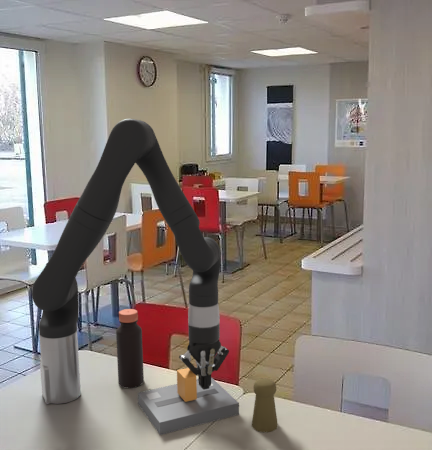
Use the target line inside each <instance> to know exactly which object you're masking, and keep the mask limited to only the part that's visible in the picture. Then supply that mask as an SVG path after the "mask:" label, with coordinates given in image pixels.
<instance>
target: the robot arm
mask: <svg viewBox="0 0 432 450" xmlns="http://www.w3.org/2000/svg"><path fill="white" fill-rule="evenodd" d="M135 164H136V165H137V167H138V168H139V169H140V170H141V172H142V174H143V175H144V177H145V179H146V181H147V183H148V184H149V188H150V190H151V192H152V195H153V198H154V200H155V203H156V205H157V208H158V210H159V212H160V214H161V216H162V217H163V219H164V221H165V222H166V224H167V226H168V227H169V229H170V231H171V232H172V234H173V236H174V238H175V242H176V244H177V247H178V250H179V253H180V255H181V257H182V259H183V261H184V263H185V264H186V265H187V267H189V268H190V269H191V270H192V277H191V279H190V282H189V285H188V310H187V316H188V318H187V321H188V323H187V324H188V325H187V326H188V346H187V347H186V348H187V350H186V352H185V353H183V354H180V355H179V357H178V358H179V360H180V361H181V362H182V363H183V364H184V365H185V366H186V368H189V369H190V370H191V371H192V372H193V373H194V374H195V375H196V376H197V378H198V381H199V382H198V383H199V386H200V387H201V388H202V389H203V390H205V389H209V386H211V377H212V373H214V372H216V371H218V370H219V369H220V368H221V366H222V364H223V363H224V361H225V360H226V358H227V356H228V355H229V353H230V350H229V349H228V348H226V346H224V345H223V346H222V343H221V341H220V336H221V333H220V331H221V330H220V329H221V328H220V325H221V324H220V319H221V315H220V307H219V286H218V284H219V278H220V270H221V258H222V257H221V256H222V255H221V254H222V253H221V249H220V246H219V244H218V242H217V241H216V240H215V239H214V238H212V237H210V236H207V237H205V236H204V235H203V233H202V232H201V229H200V224H201V222H200V219H199V217H198V215H197V213H196V212H195V210H194V208H193V206H192V205H191V203H190V201H189V200H188V198H187V196H186V195H185V193H184V191H183V190H182V188H181V187H180V185H179V183H178V182H177V180H176V177H175V176H174V174H173V171H171V169H170V167H169V165H168V163H167V159H166V158H165V156H164V154H163V151H162V148H161V146H160V144H159V141H158V138H157V135H156V133H155V130H154V129H153V127H152V126H151V125H149V123H148V122H146V121H143V120H141V119H135V118H125V119H122V120H120V121H118V122H117V123H115V124H114V126H113V127H112V130H111V131H110V132H109V135H108V138H107V140H106V143H105V145H104V149H103V152H102V153H101V156H100V159H99V162H98V163H97V166H96V168H95V170H94V172H93V174H92V175H91V177H90V179H89V180H88V182H87V183H86V185H85V188H84V190H83V192H82V193H81V195H80V196H79V199H78V200H77V202H76V204H75V206H74V208H73V210H72V212H71V214H70V216H69V217H68V220H67V222H66V224H65V226H64V228H63V231H62V233H61V235H60V237H59V239H58V242H57V245H56V247H55V249H54V251H53V253H52V255H51V257H50V258H49V260H48V261H47V263H46V265H45V266H44V267H43V269H42V271H41V272H40V273H39V275H38V276H37V278H36V279H35V280H34V283H33V284H32V288H31V298H32V301H33V303H34V305H35V306H36V307H37V308H38V309H39V310H41V311H42V313H41V314H42V315H41V317H40V320H39V323H38V334H39V345H40V346H39V347H40V348H39V349H40V360H39V365H40V366H39V369H40V381H41V393H42V398H43V400H44V402H45V404H46V405H49V404H56V405H58V404H65V403H70V402H73V401H75V400H76V399H78V398H79V397H80V396H81V394H82V392H81V373H80V358H79V356H80V355H79V342H78V341H79V340H78V322H79V321H78V320H79V314H80V313H79V312H80V311H79V310H80V309H79V307H80V306H79V288H78V287H79V285H78V281H77V275H78V273H79V271H80V269H81V268H82V266H83V264H85V262H86V260H87V259H88V258H89V257H90V255H91V254H92V253H93V252H94V250H95V249H96V248H97V246H98V245H99V243H100V242H101V240H102V239H103V238H104V236H105V234H106V233H107V231H108V229H109V226H110V225H111V223H112V221H113V220H114V217H115V216H116V213H117V210H118V207H119V202H120V199H121V193H122V190H123V186H124V184H125V181H126V179H127V177H128V175H129V174H130V172H131V170H132V169H133V167H134V166H135ZM192 358H193V359H194V360H195V364H196V367H195V365H194V364H193V363H192V362H191V361H192Z"/></svg>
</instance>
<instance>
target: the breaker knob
mask: <svg viewBox="0 0 432 450" xmlns="http://www.w3.org/2000/svg"><path fill="white" fill-rule="evenodd" d="M196 380H197V375H195V374H194V373H193V372H192V371H191V370H190V369H189V368H188V367H186V368H182V369H181V368H180V369H178V370H176V384H177V393H178V394H179V395H180V397H181V398H182V399H183V400H184V401H185V402H187V401H191V400H196V399H197V381H196Z"/></svg>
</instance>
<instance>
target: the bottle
mask: <svg viewBox="0 0 432 450" xmlns="http://www.w3.org/2000/svg"><path fill="white" fill-rule="evenodd" d="M138 313H139V312H138V310H136V309H134V308H125V309H121V310H119V311H118V321H119V324H120V325H119V326H118V327H117V328H116V330H115V335H116V336H115V337H116V356H117V362H116V363H117V381H118V385H119V386H120V387H122V388H125V389H133V388H134V389H135V388H138V387H140V386H141V385H142V384H143V383H144V381H145V379H144V377H145V376H144V356H143V355H144V353H143V352H144V351H143V330H142V327H141V326H140V325H139V324H138V322H139V321H138V320H139V314H138Z"/></svg>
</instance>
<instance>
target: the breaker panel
mask: <svg viewBox="0 0 432 450" xmlns="http://www.w3.org/2000/svg"><path fill="white" fill-rule="evenodd" d="M196 381H197V399H196V400H191V401H187V402H185V401H184V400H183V399H182V398H181V397H180V395H179V394H178V393H177V383H174V384H170V385H165V386H161V387H156V388H152V389H149V390H148V389H146V390H144V391H138V392H136V393H137V405H138V406H139V407H140V409H141V410H142V412H143V413H144V415H145V416H146V417H147V419H148V420H149V421H150V423H151V425H152V426H153V427H154V429H155V430H156V431H157V433H158V434H159V436H162V435H165V434H168V433H174V432H176V431H181V430H184V429H188V428H189V429H190V428H192V427H196V426H201V425H203V424H207V423H212V422H214V421H215V422H216V421H219V420H224V419H226V418H231V417H235V416H238V415H240V402H239V401H237V399H236V398H234V397H233V396H232V395H231V394H230V393H229V392H228V391H227V390H226V389H225V388H224V387H222V386H221V384H220V383H218V382H217V381H216V380H215V379H214V378H213V377H212V376H211V386H209V389H205V390H203V389H202V388H201V387H200V386H199V383H198V382H199V381H198V379H197V378H196Z"/></svg>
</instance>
